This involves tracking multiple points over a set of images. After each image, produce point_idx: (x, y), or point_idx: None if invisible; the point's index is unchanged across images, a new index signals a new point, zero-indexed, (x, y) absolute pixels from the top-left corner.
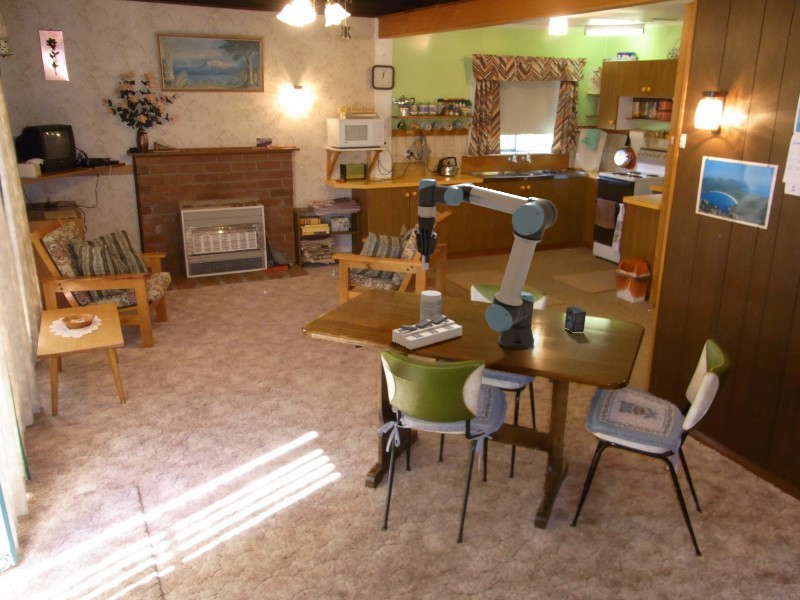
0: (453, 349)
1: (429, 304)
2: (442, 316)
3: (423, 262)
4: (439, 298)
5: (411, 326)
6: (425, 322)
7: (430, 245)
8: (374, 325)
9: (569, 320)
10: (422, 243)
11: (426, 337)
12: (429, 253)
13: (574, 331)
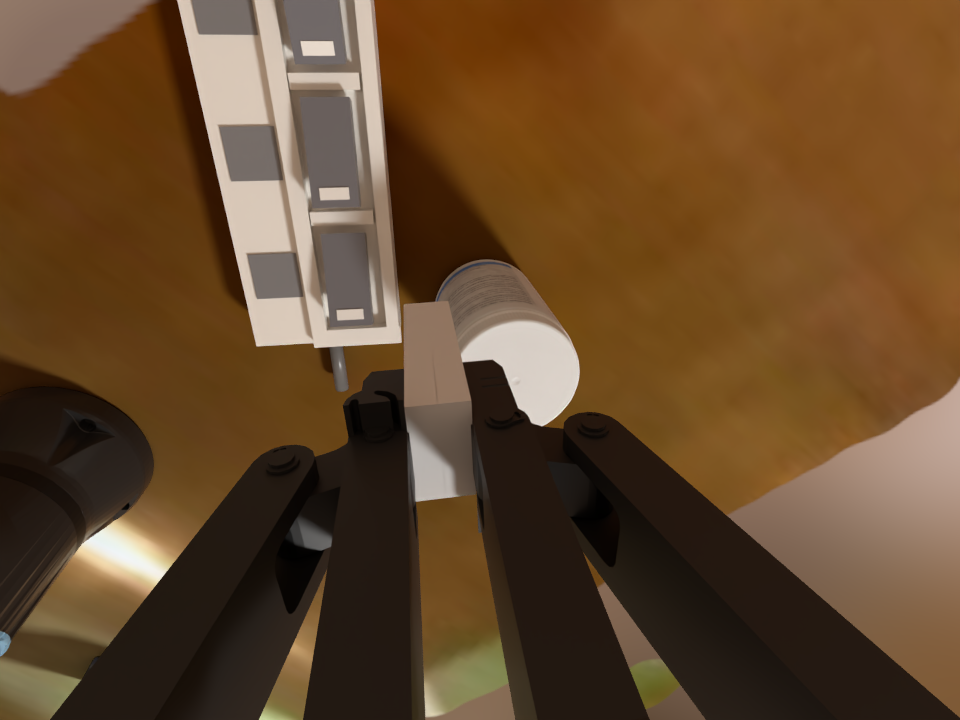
0: (88, 151)
1: (463, 312)
2: (352, 308)
3: (417, 346)
4: None
5: (312, 24)
6: (323, 158)
7: (127, 664)
8: (645, 19)
9: None
10: (524, 605)
11: (191, 52)
12: (247, 474)
13: (88, 669)
